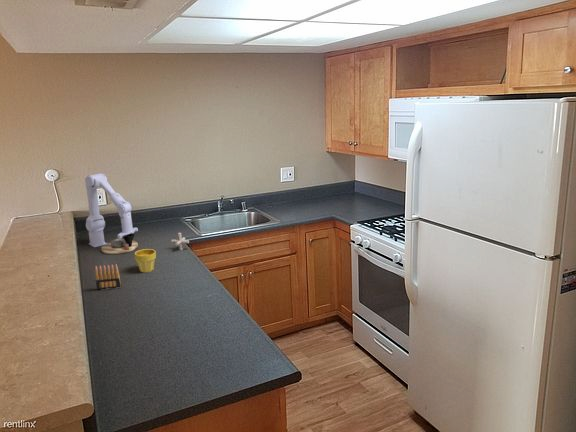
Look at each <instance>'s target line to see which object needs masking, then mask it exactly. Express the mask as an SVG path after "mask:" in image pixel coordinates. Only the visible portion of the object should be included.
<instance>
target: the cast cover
mask: <svg viewBox="0 0 576 432" xmlns="http://www.w3.org/2000/svg"><path fill="white" fill-rule="evenodd" d="M109 243H111V248H123V247H124V244H126V241H125V240H124V238H123V237H122V238H118V237H117V238H115V239H112V240H110V242H109Z"/></svg>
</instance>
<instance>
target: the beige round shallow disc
mask: <svg viewBox="0 0 576 432" xmlns="http://www.w3.org/2000/svg"><path fill="white" fill-rule="evenodd" d="M138 247H139V243H138V242H137V241H135V240H133V241H132V246H131V247H129V244H124V247H123V248H111V243H110V242H107V244H105V245H102V246H101V247H100V248H101V252H102V253H103V254H106V255H121V254H126V253H130V252H133V251H135V250H136V249H137V248H138Z"/></svg>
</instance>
